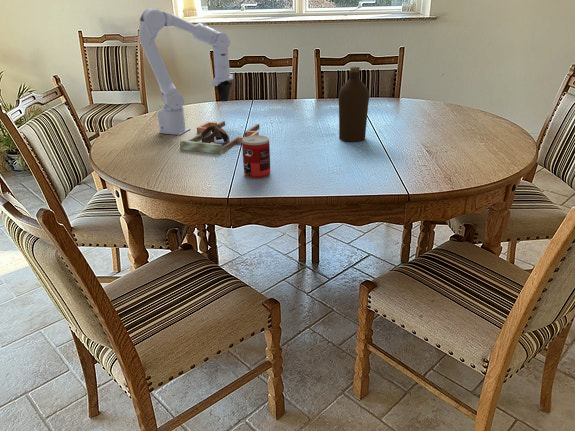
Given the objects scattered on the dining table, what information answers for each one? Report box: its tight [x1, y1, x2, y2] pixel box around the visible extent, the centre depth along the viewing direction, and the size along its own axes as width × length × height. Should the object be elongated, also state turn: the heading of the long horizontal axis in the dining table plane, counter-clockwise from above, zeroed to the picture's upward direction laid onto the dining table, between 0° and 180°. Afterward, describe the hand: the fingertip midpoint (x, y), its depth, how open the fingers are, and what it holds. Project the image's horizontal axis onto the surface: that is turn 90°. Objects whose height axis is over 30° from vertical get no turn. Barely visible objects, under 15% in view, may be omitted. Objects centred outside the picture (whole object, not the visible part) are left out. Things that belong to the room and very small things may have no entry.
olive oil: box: [338, 66, 370, 143], centre depth 170 cm, size 11×11×25 cm
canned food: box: [241, 134, 271, 179], centre depth 143 cm, size 8×8×11 cm
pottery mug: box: [200, 125, 231, 144], centre depth 171 cm, size 12×10×8 cm
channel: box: [178, 120, 260, 155], centre depth 178 cm, size 16×32×3 cm, turn 160°
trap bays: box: [196, 121, 260, 144], centre depth 182 cm, size 25×16×2 cm, turn 70°
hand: (224, 101), depth 192 cm, fingers closed
